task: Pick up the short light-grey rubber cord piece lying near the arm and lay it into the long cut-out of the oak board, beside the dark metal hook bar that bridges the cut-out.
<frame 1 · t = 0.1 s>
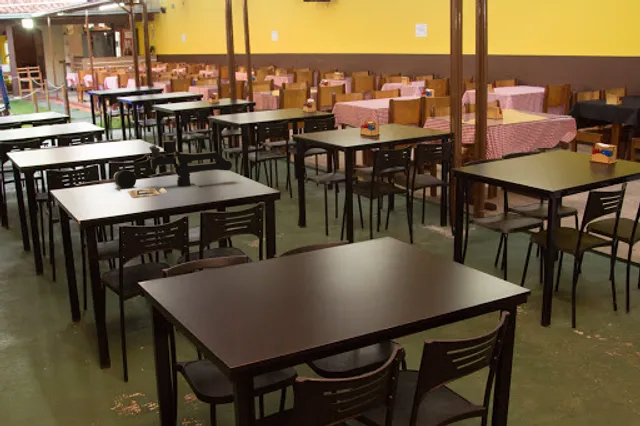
hand: (135, 162, 373), 17 cm above the table, tool horizontal, fingers open, 9 cm apart
black cylinder: (122, 185, 400), on the table
board: (143, 196, 367), on the table
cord: (163, 192, 369), point 1 cm above the table
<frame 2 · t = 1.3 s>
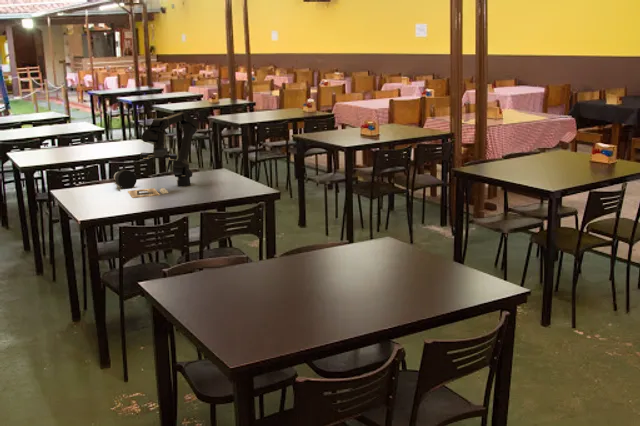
hand: (158, 172, 366), 12 cm above the table, tool pointing down, fingers open, 9 cm apart
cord: (164, 192, 369), point 1 cm above the table, tilted 15°
everything else where it was.
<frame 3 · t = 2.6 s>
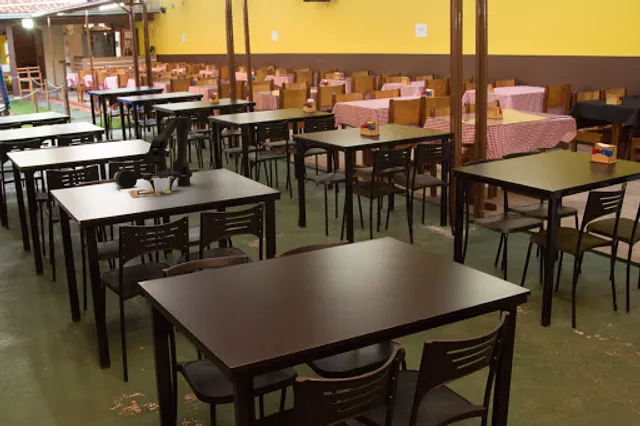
hand: (162, 191, 369), 2 cm above the table, tool pointing down, fingers open, 8 cm apart
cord: (166, 191, 369), point 1 cm above the table, tilted 75°
everything else where it was.
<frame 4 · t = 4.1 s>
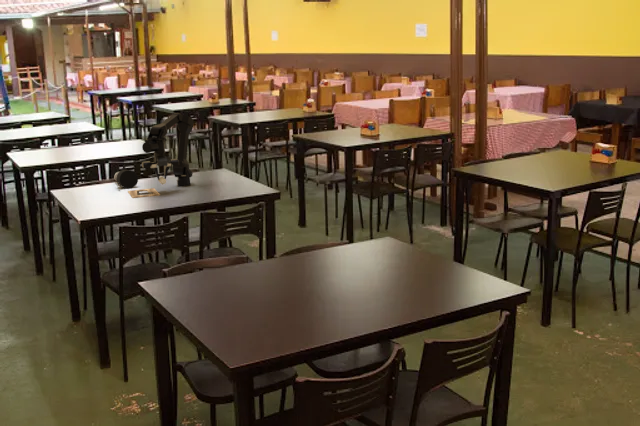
hand: (161, 179, 367), 8 cm above the table, tool pointing down, fingers closed on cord, 3 cm apart
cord: (161, 180, 367), point 8 cm above the table, tilted 56°, touching gripper
everything else where it was.
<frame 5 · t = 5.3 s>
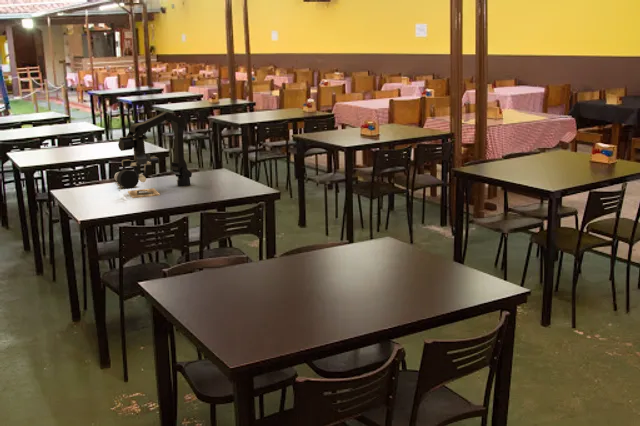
hand: (141, 177, 366), 10 cm above the table, tool pointing down, fingers closed on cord, 3 cm apart
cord: (141, 178, 367), point 9 cm above the table, tilted 57°, touching gripper
everything else where it was.
when the fingers open (3 cm above the table, at t = 6.7 s): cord stays where it is and tips over, point 1 cm above the table.
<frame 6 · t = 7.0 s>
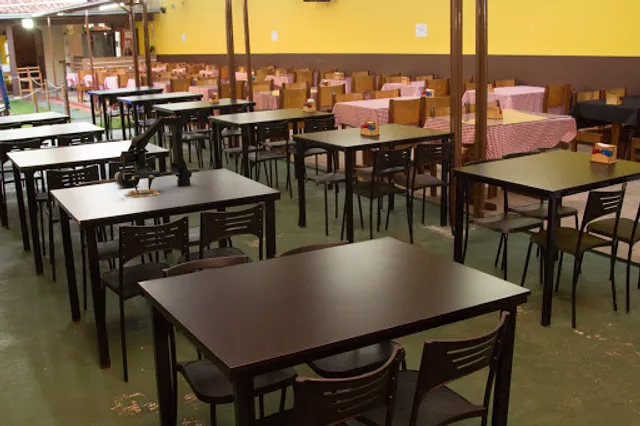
hand: (143, 190, 368), 3 cm above the table, tool pointing down, fingers open, 6 cm apart
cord: (142, 193, 368), point 1 cm above the table, tilted 65°
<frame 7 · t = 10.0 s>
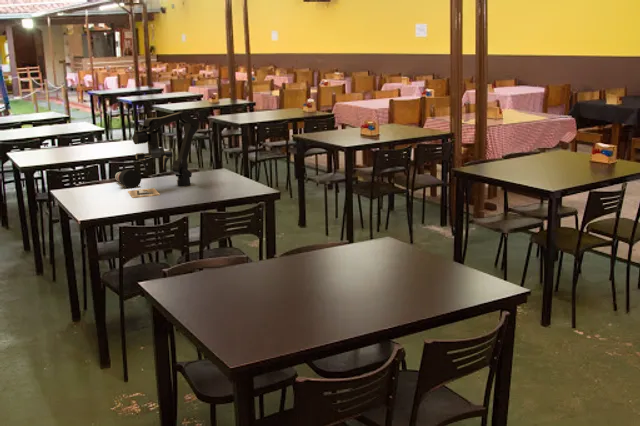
hand: (155, 171, 372), 12 cm above the table, tool pointing down, fingers open, 9 cm apart
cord: (141, 193, 368), point 1 cm above the table, tilted 100°
at the end: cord inside the target area on the board (1.4 cm from its centre), point 1.4 cm above the board's base; the gripper is holding nothing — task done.
